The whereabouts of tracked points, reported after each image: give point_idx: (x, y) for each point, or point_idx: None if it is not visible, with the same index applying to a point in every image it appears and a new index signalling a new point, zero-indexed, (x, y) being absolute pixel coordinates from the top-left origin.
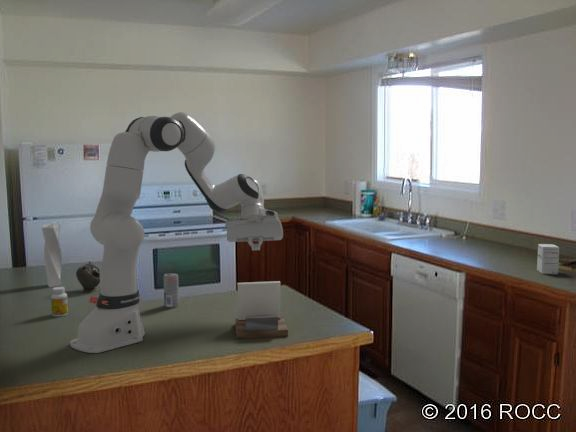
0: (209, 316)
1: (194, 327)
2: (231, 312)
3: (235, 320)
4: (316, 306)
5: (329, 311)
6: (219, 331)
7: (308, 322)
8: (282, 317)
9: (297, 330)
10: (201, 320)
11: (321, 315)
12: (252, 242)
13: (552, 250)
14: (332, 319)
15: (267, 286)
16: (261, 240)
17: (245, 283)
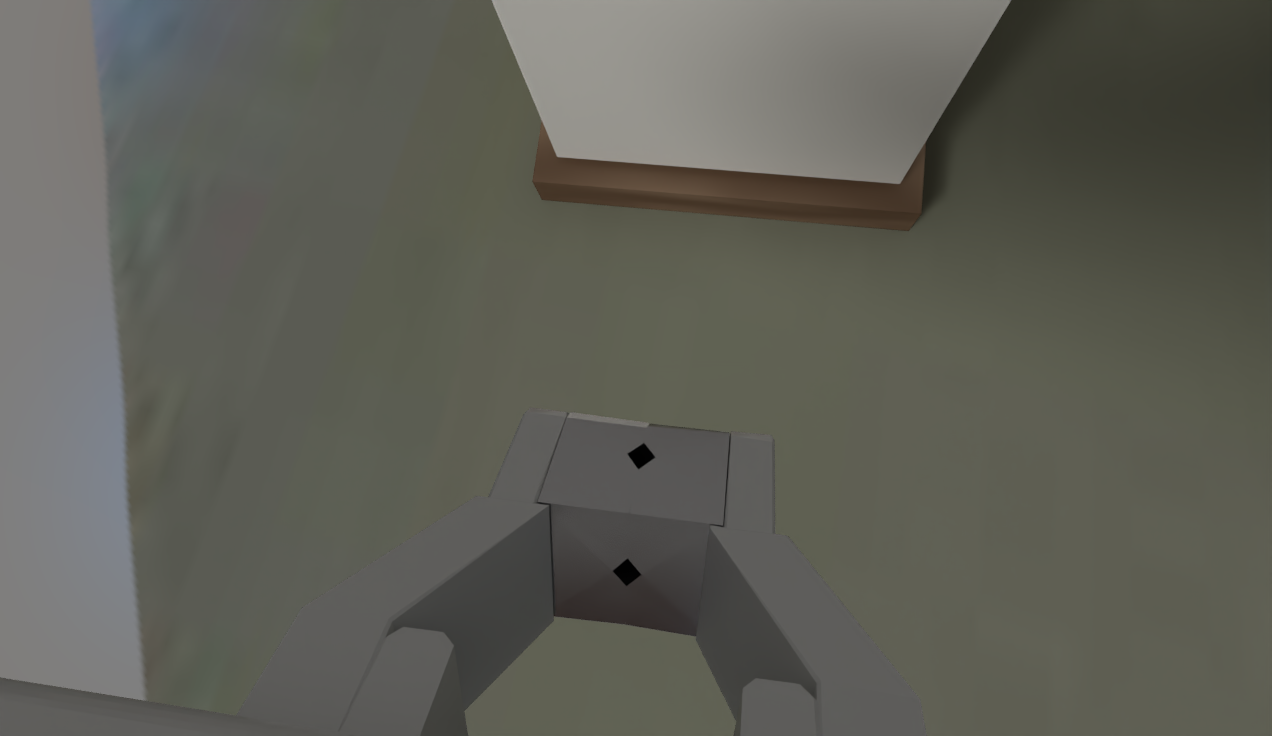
0: (1117, 498)
1: (1243, 236)
2: (910, 565)
3: (923, 165)
4: (164, 532)
5: (126, 368)
6: (1041, 104)
7: (369, 153)
8: (543, 155)
9: (494, 12)
10: (1189, 402)
11: (222, 286)
12: (743, 571)
13: None
14: (187, 178)
15: None
16: (374, 573)
17: None
